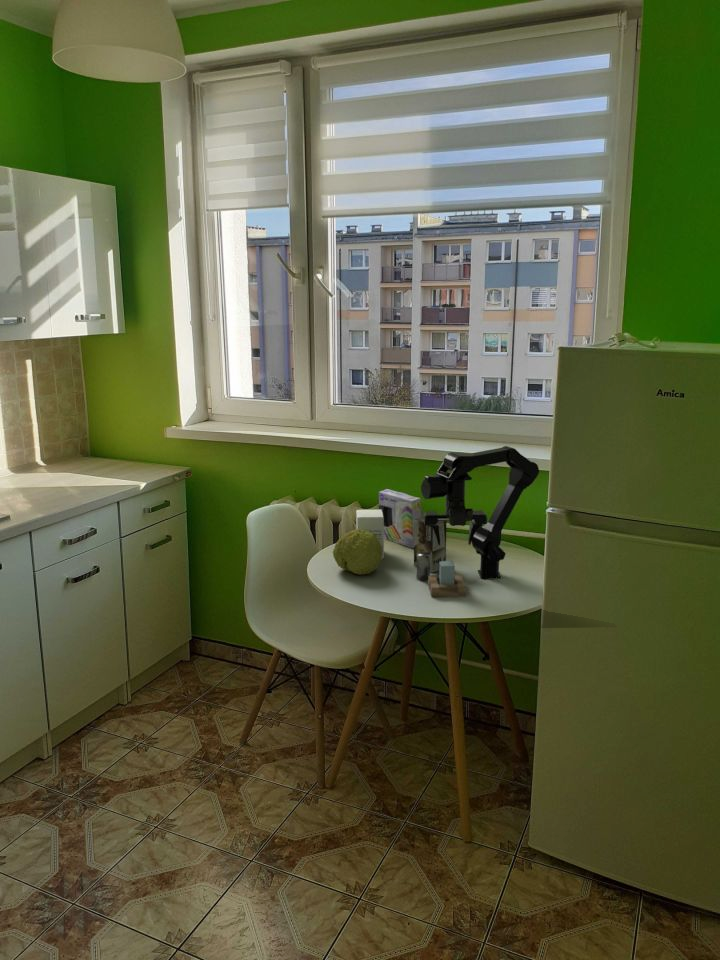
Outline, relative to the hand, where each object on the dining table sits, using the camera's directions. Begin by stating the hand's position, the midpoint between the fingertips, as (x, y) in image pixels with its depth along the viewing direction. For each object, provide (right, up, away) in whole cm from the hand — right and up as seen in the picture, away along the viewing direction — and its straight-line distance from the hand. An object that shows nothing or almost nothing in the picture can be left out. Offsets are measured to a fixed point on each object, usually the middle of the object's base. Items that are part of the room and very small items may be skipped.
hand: (454, 544), depth 235 cm
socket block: (-3, -13, -4) cm, 14 cm away
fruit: (-29, -10, +12) cm, 33 cm away
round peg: (-9, -11, +6) cm, 15 cm away
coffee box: (-6, -9, +16) cm, 19 cm away
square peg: (-3, -13, -4) cm, 14 cm away
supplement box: (-25, -6, +27) cm, 37 cm away
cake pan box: (-15, -3, +41) cm, 43 cm away
